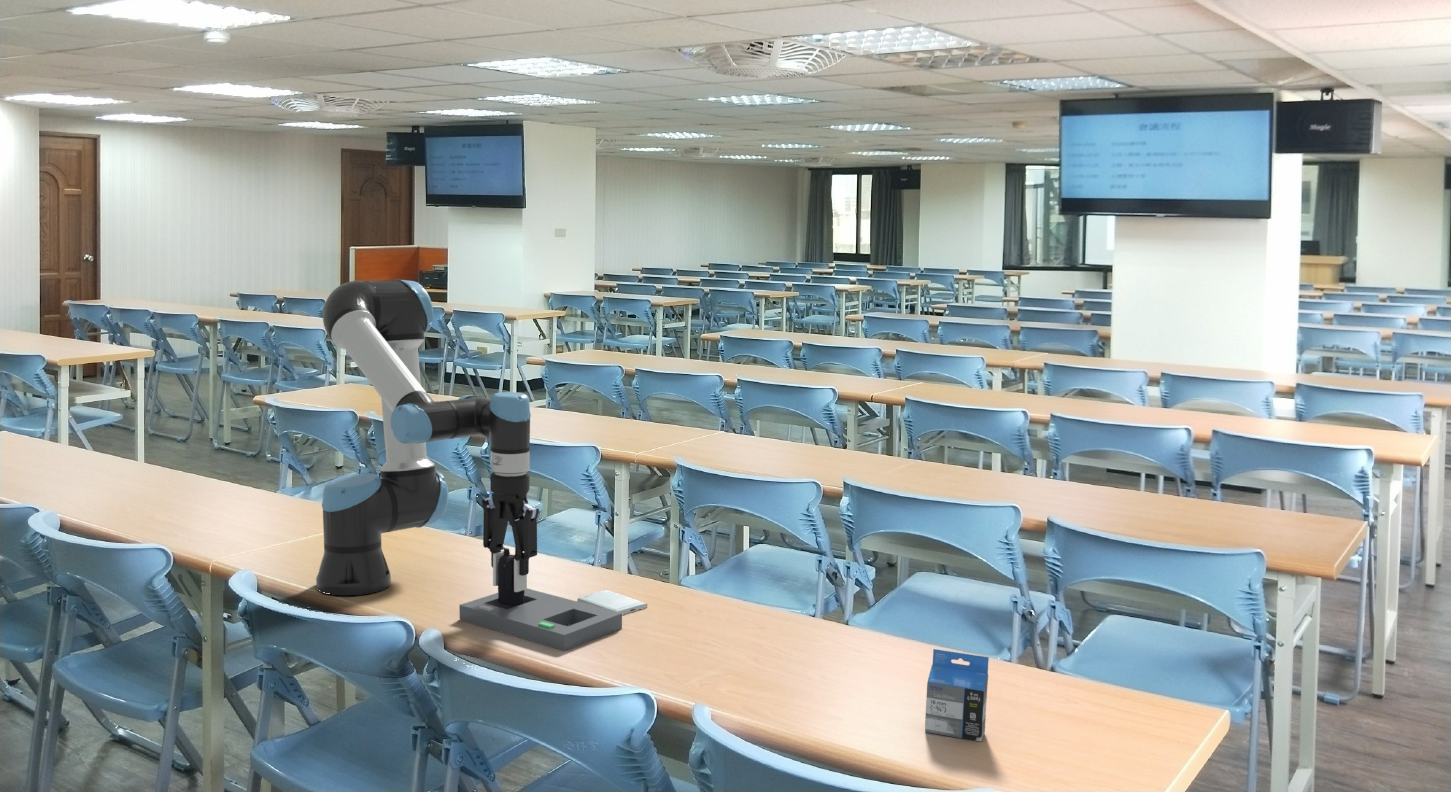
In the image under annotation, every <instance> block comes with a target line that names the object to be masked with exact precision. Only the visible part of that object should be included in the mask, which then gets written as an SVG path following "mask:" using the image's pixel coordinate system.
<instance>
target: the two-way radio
mask: <svg viewBox="0 0 1451 792" xmlns="http://www.w3.org/2000/svg"><path fill="white" fill-rule="evenodd" d="M504 548H505V549H504V550H503V551H504V553H503V554H504V555H502V556H501V558H500V560H499V563H498V586H497V593H498V602H499V603H500V604H501V605H509V606H519V605H522V604H523V603H524V591H525V590H522V591H519V592H514V559H515V558H517V553H516V547H514V554H510V553H511V552H510V549H509V548H506V547H504Z"/></svg>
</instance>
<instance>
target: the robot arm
mask: <svg viewBox="0 0 1451 792" xmlns="http://www.w3.org/2000/svg"><path fill="white" fill-rule="evenodd" d="M432 302H433V301H432V300H431V297H430V295H429V293H428V291H426V289H425V288H424V287H423V285H422V284H420V283H419V282H417V281H413V280H405V279H392V280H391V279H389V280H388V279H387V280H385V279H382V280H352V281H348V282H344V283H342V284H340V285H339V286H337V287H335V289H333V290H332V292H331V293H330V294H329V295H328V296H327V298H326V301H325V303H324V305H323V310H322V323H323V327H324V330H325V332H326V333H327V336H328V337H329V338H330V340H331V341H332V343H333V344H334V345H335V346H336V347H338V349H341V350H345V352H346V353H347V354H348V356H349V357H350V358H351V359H352V360H353V362H354V363H355V365H356V366H357V367H358V368H359V370H360V371H361V372H362V374H363V375H364V377H365V378H366V379H367V380H368V382H369V383H370V384H371V386H372V387H373V388H374V390H375V391H376V393H378V395H379V397H380V399H381V401H380V402H381V410H382V411H381V412H382V423H383V434H384V436H383V437H384V447H385V458H386V460H385V463H384V464H383V465H382V466H381V467H380V469H379V472H380V475H378V474H377V473H372V472H363V473H362V472H361V473H358V474H357V473H353V474H348V475H346V474H345V475H344V476H340V477H337V478H335V479H332V480H330V481H329V482H328V483H327V484H326V485H325V486H324V487H323V491H322V501H321V507H322V523H323V526H322V527H323V548H324V549H323V550H324V551H323V556H322V559H321V561H320V566H319V569H318V574H316V581H315V583H316V586H315V588H316V587H317V588H316V590H317V589H318V590H320V591H321V592H325V593H330V594H332V595H331V596H335V595H356V596H362V595H364V594H365V595H369V593H370V594H374V592H375V593H377V592H378V593H379V592H380V590H381V591H383V590H386V589H387V588H389V587H390V586H391V582H392V581H391V580H392V578H391V577H392V576H391V571H390V569H389V565H388V563H387V559H386V557H385V555H384V552H383V548H382V534H386V533H391V532H397V531H402V530H407V529H412V528H417V529H418V528H423V527H426V526H428V525H432V524H435V523H437V522H439V521H440V520H441V518H442V517H443V515H444V514H445V512H446V510H447V506H448V501H449V500H448V499H449V487H448V484H447V482H446V481H445V480H446V479H445V476H444V475H443V474H442V473H441V472H440V471H437V470H436V466H435V465H436V464H435V463H434V462H433V461H432V460H431V459H430V458H428V452H427V443H429V442H437V441H444V440H452V439H460V438H469V437H477V436H480V437H484V438H489V439H490V471H492V473H490V492H491V493H493V494H492V496H490V497H486V498H483V499H481V504H482V510H483V526H482V528H483V529H482V531H483V534H482V535H483V536H482V538H483V539H482V540H483V541H482V542H483V543H482V546H483V547H484V548H485V549H489V552H490V553H491V556H490V557H491V559H490V563H491V565H490V566H491V568H492V586H494V587H498V563H499V560H500V558H501V556H502V555H504V554H503V553H504V549H505V548H506V547H505V546H504V545H505V544H504V543H505V539H506V533H507V531H508V530H507V529H508V525H509V526H510V527H511V530H512V536H513V541H514V546H515V547H516V553H517V558H515V559H514V592H519V591H522V590H525V589H528V587H527V586H528V585H527V583H528V582H527V580H528V575H529V569H530V563H529V562H530V558H533V557H536V556H538V516H539V513H540V509H539V507H537V506H536V507H535V506H534V507H532V506H531V505H530V504H529V500H528V498H527V497H528V496H527V495H528V493H529V491H530V490H531V489H530V487H531V485H530V482H531V481H530V479H531V478H530V473H529V472H528V471H530V469H531V466H530V464H531V461H530V459H531V458H530V457H531V456H530V455H531V454H530V451H531V450H530V446H531V445H530V440H531V439H530V438H531V417H532V413H531V410H530V409H531V407H530V397H529V396H528V395H527V394H525V393H523V392H515V391H503V392H501V391H500V392H495V393H493V394H492V395H491V397H490V398H487V397H484V396H481V395H477V394H476V395H471V394H467V395H462V396H461V397H459V398H458V399H451V400H450V399H449V400H440V401H438V400H437V401H435V400H433V398H432V397H431V396H430V395H429V394H428V392H427V391H426V390H425V389H424V388H423V387H422V381H421V369H420V358H419V347H420V346H421V345H422V344H423V343H424V342H425V335H424V333H427V332H428V331H430V329H431V327H432V325H433V323H432V322H433V321H434V307H433V303H432ZM515 547H514V548H515ZM318 590H317V591H318ZM321 592H320V593H321Z"/></svg>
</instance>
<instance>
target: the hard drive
mask: <svg viewBox="0 0 1451 792" xmlns="http://www.w3.org/2000/svg"><path fill="white" fill-rule="evenodd" d="M577 602H581V603H585V604H588V605H592V606H596V607H600V608H604V609H608V610H611V611H615V612H619V613H622V614H624V615H626V614H630V613H634V612H637V611H640V610H639V609H641V610H644V609H648V603H646V602H643V601H641V600H637V599H634V598H631V597H629V596H625V595H622V594H621V593H616V592H614V591H610V590H608V589H605V590H599V591H596V592H593V593H589V594H585V595H583V596H582V595H581V596H579V597H578V598H577ZM643 608H644V609H643ZM633 611H634V612H633ZM629 612H630V613H629Z"/></svg>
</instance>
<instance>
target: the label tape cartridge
mask: <svg viewBox="0 0 1451 792" xmlns="http://www.w3.org/2000/svg"><path fill="white" fill-rule="evenodd" d="M932 651H933V652H932V664H931V666H930V670H929V674H928V679H927V682H926V683H927V684H926V700H925V721H924V722H925V724H924V727H925V729H924V730H925V731H924V732H925V733H928V734H934V735H935V734H936V735H941V736H947V737H951V738H952V737H953V738H959V739H964V740H969V741H974V742H980V741H981V742H982V741H983V738H984V735H985V732H986V719H987V717H986V716H987V715H986V714H987V700H988V684H989V661H990V660H989V659H990V657H989V656H983V655H975V654H968V653H962V652H957V651H956V652H955V651H949V650H944V649H943V650H942V649H937V648H936V649H935V648H933V650H932ZM953 660H954V661H959V660H962V661H963V662H966V663H967V662H968V663H969V664H968V665H967V664H961V663H955V662H952V661H953Z"/></svg>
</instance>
